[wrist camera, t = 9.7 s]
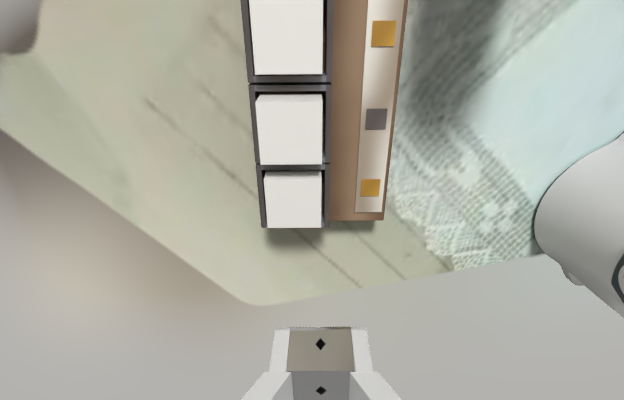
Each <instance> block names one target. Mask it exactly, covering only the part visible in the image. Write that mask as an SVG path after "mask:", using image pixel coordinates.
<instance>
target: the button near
mask: <svg viewBox="0 0 624 400" xmlns="http://www.w3.org/2000/svg"><path fill="white" fill-rule="evenodd" d="M249 7H250V19H251V31H252V43H253V55H254V68H255V75H260V74H322V65H323V0H249Z"/></svg>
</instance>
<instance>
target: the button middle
mask: <svg viewBox="0 0 624 400" xmlns="http://www.w3.org/2000/svg"><path fill="white" fill-rule="evenodd" d="M255 105H256V117H257V129H258V141H259V152H260V164H261V165H296V164H322V110H323V101H322V94H260V96H259V97H258V99H257V100H256V102H255Z"/></svg>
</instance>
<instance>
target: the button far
mask: <svg viewBox="0 0 624 400" xmlns="http://www.w3.org/2000/svg"><path fill="white" fill-rule="evenodd" d="M321 187H322V178H321V170H266V173H265V177H264V189H265V201H266V214H267V226H268V228H321Z"/></svg>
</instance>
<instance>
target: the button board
mask: <svg viewBox="0 0 624 400" xmlns="http://www.w3.org/2000/svg"><path fill="white" fill-rule="evenodd" d="M407 4H408V0H323V65H322V74H260V75H255V68H254V55H253V43H252V31H251V19H250V7H249V0H241V10H242V21H243V31H244V42H245V53H246V64H247V75H248V83H250V84H249V97H250V107H251V118H252V129H253V140H254V151H255V162H256V172H257V183H258V194H259V205H260V216H261V227H262V228H265V227H268V226H267V214H266V201H265V189H264V177H265V173H266V170H321V178H322V187H321V227H329V221H349V220H383V219H384V210H385V201H386V192H387V183H388V174H389V165H390V156H391V147H392V138H393V130H394V121H395V112H396V103H397V94H398V85H399V76H400V67H401V58H402V49H403V40H404V31H405V22H406V13H407ZM260 94H322V101H323V110H322V164H296V165H261V164H260V152H259V141H258V129H257V117H256V105H255V102H256V100H257V99H258V97H259V96H260Z"/></svg>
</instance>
